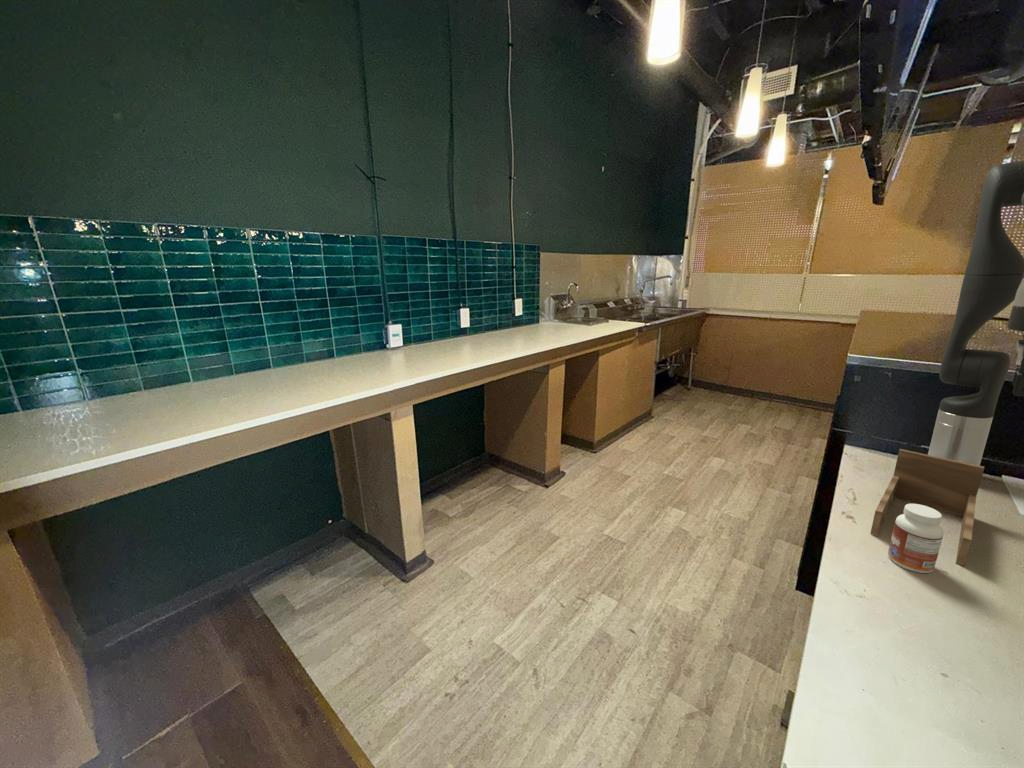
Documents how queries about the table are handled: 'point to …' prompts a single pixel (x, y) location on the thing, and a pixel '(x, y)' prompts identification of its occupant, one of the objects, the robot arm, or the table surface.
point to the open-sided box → (934, 490)
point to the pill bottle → (916, 538)
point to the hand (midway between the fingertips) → (1020, 391)
